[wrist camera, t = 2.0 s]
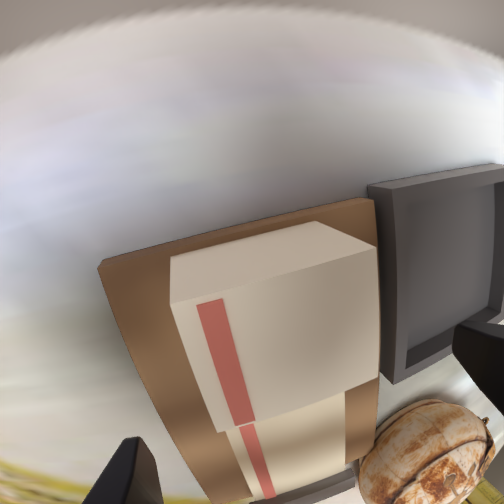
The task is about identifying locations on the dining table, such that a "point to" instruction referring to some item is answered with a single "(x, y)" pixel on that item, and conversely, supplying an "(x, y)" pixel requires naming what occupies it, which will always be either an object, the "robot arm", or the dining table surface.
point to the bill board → (190, 398)
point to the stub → (277, 320)
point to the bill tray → (437, 262)
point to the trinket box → (426, 456)
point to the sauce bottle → (484, 494)
